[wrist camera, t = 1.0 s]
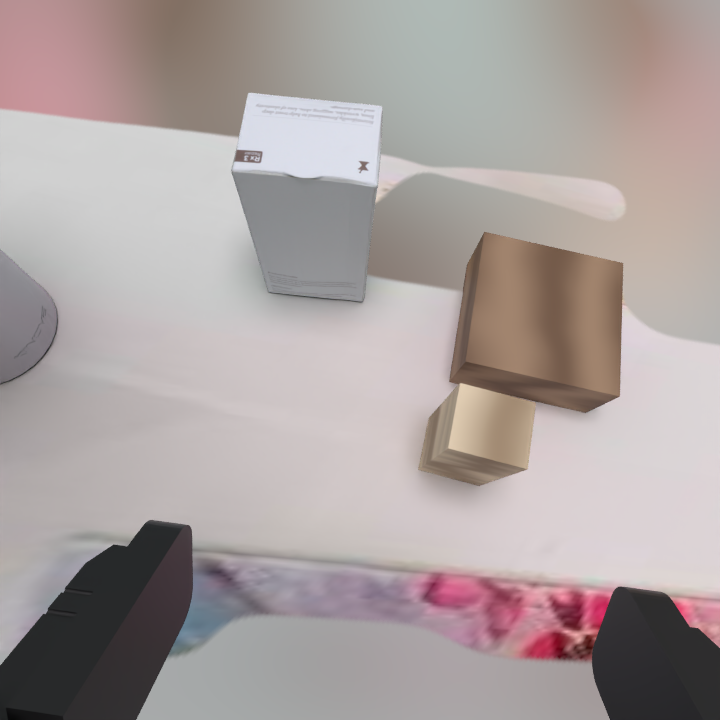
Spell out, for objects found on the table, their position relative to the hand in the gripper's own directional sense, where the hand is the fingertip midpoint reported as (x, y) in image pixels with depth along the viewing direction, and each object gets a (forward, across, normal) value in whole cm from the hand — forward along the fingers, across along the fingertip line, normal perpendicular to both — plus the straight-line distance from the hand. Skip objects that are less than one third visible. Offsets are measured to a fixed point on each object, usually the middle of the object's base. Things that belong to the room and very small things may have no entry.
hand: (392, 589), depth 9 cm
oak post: (+25, -6, +11) cm, 28 cm away
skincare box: (+34, +7, 0) cm, 34 cm away
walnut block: (+33, -11, +3) cm, 35 cm away
